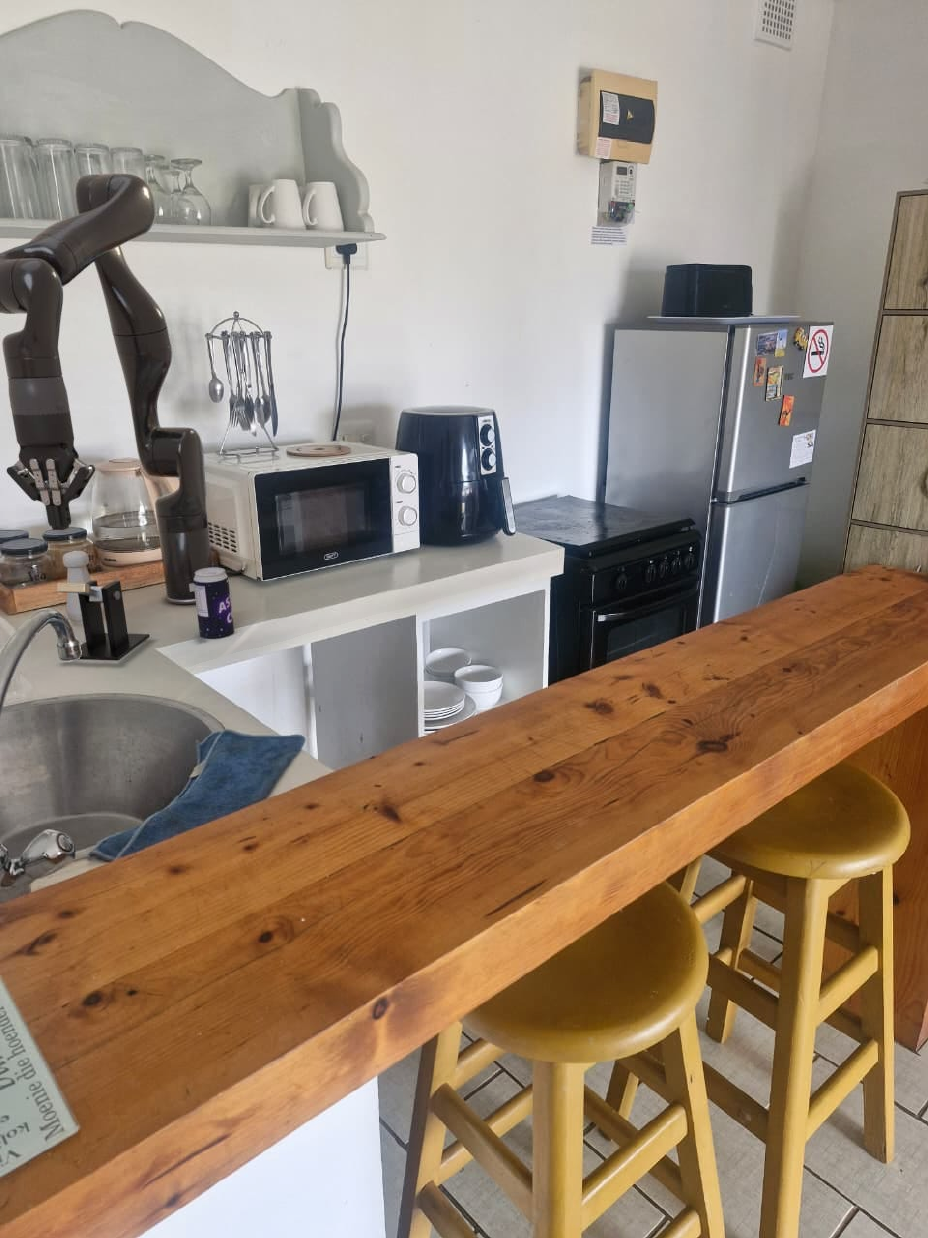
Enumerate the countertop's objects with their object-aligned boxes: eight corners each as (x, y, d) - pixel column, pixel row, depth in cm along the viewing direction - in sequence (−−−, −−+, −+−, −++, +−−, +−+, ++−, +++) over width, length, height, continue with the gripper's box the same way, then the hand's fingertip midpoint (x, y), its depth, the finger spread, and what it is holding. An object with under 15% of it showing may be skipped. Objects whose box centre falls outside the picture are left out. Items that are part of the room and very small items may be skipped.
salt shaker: (81, 628, 156) (69, 558, 151) (61, 623, 159) (49, 554, 154) (109, 619, 160) (98, 550, 156) (89, 614, 163) (79, 547, 159)
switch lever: (84, 595, 132) (85, 579, 132) (56, 594, 132) (57, 579, 133) (117, 603, 142) (118, 589, 142) (91, 603, 142) (92, 588, 142)
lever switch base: (119, 665, 138) (108, 595, 134) (65, 664, 139) (53, 593, 135) (150, 641, 149) (141, 575, 145) (100, 640, 150) (90, 574, 146)
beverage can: (225, 644, 147) (217, 576, 143) (194, 643, 148) (186, 575, 144) (240, 633, 152) (233, 567, 148) (210, 631, 153) (202, 566, 149)
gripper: (98, 407, 126) (115, 524, 132) (13, 407, 128) (33, 522, 133) (70, 412, 119) (89, 535, 125) (-19, 412, 121) (4, 534, 126)
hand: (60, 528), depth 129 cm, fingers closed
